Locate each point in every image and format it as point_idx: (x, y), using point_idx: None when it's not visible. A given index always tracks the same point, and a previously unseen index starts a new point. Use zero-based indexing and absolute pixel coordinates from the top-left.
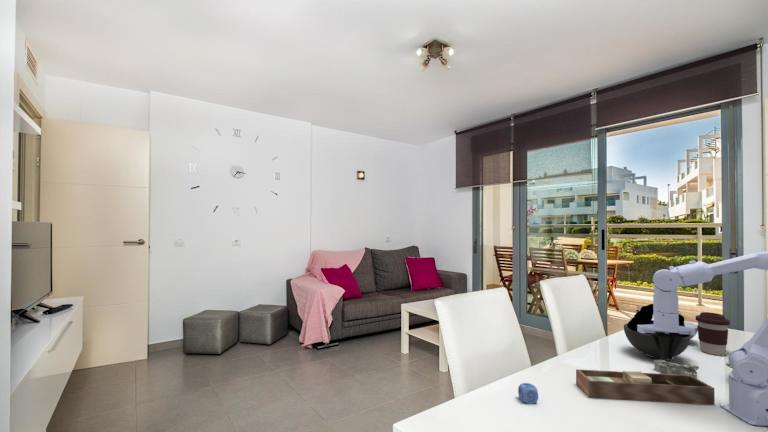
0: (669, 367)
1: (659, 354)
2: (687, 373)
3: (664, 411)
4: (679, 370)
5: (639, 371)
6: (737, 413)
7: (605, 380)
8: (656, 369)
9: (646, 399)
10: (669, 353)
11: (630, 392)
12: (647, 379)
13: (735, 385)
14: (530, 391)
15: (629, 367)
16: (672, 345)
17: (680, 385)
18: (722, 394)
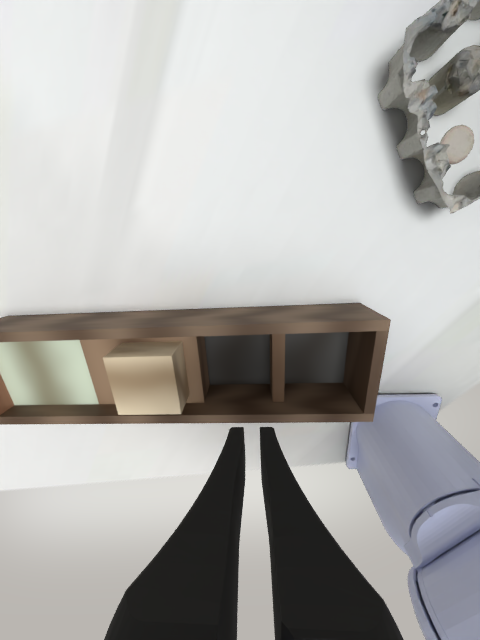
0: (451, 94)
1: (226, 441)
2: (457, 202)
3: (192, 431)
4: (440, 184)
5: (167, 356)
6: (356, 438)
7: (61, 363)
8: (382, 91)
9: None
10: (263, 488)
11: None
12: (168, 412)
13: (398, 510)
14: None
15: (267, 61)
16: (272, 585)
17: (268, 416)
18: (449, 315)
